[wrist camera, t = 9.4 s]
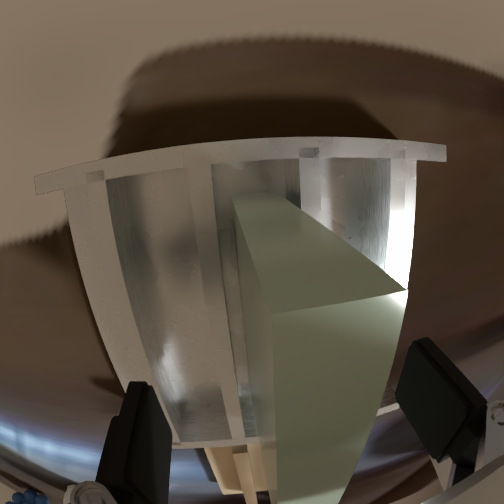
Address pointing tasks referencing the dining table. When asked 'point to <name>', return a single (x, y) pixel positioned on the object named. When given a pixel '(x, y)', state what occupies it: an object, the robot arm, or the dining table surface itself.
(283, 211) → the sage green plank
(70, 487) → the bottle
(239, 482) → the stand
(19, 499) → the grapes
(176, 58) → the dining table surface
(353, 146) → the rack
